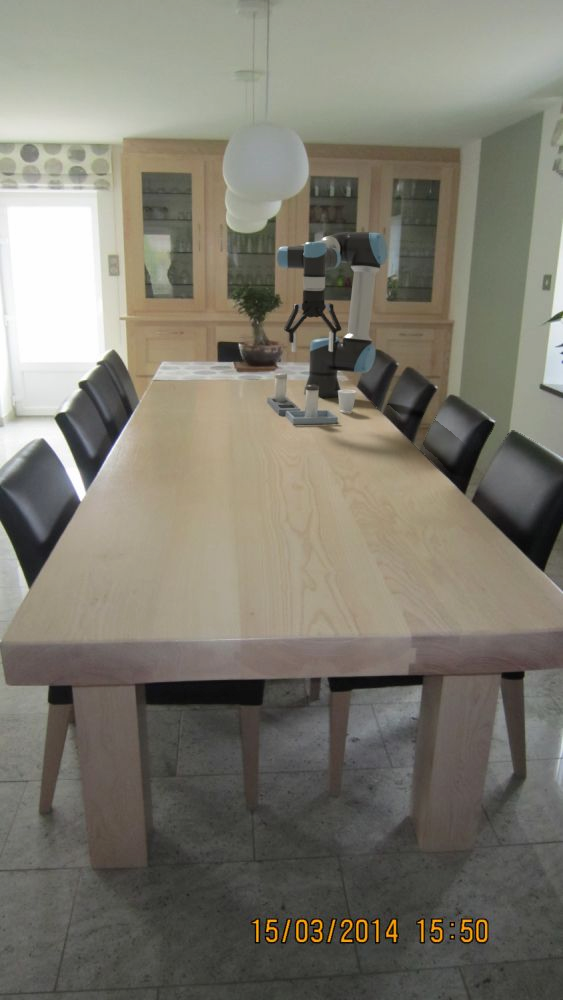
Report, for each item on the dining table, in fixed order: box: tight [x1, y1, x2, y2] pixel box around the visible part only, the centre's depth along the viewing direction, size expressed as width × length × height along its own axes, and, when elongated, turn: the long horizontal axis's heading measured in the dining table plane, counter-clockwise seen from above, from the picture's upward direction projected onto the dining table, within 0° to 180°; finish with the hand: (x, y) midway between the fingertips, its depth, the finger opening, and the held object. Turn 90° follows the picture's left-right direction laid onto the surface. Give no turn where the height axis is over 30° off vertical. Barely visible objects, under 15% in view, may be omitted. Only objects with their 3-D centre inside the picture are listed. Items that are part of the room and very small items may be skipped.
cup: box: [337, 389, 357, 415], centre depth 281 cm, size 7×10×8 cm
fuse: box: [274, 372, 288, 402], centre depth 285 cm, size 5×5×12 cm
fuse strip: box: [266, 396, 302, 416], centre depth 282 cm, size 8×22×2 cm, turn 12°
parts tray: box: [285, 409, 339, 426], centre depth 266 cm, size 16×12×2 cm
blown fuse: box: [304, 384, 319, 418], centre depth 264 cm, size 5×5×12 cm
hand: (312, 351), depth 264 cm, fingers open, 13 cm apart
